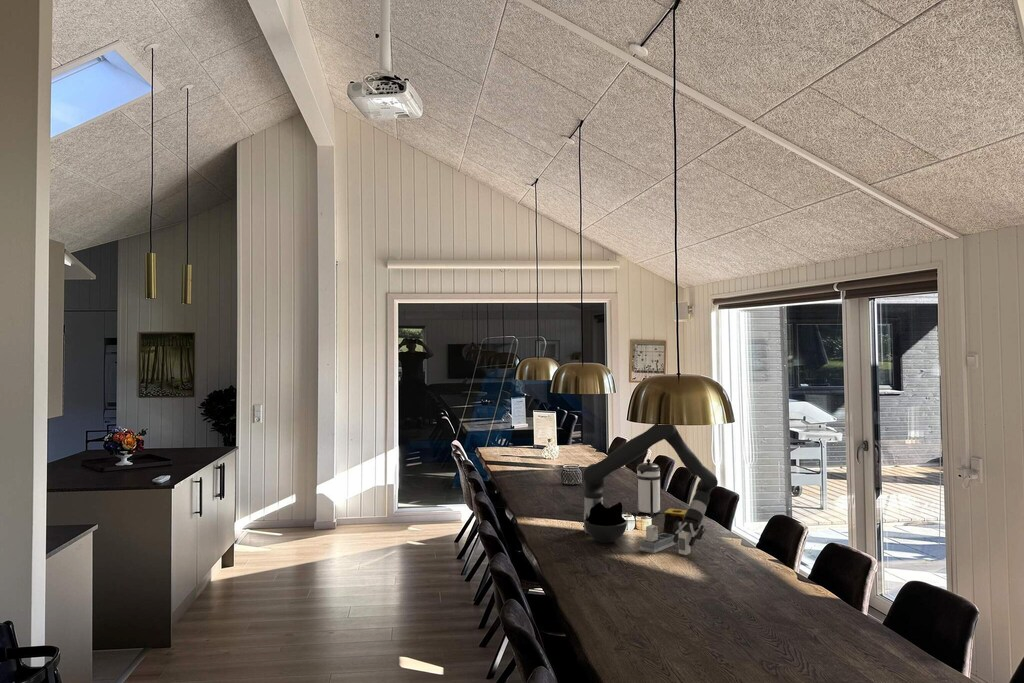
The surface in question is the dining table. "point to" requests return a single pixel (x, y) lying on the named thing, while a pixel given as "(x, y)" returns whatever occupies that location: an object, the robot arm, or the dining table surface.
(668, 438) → the robot arm
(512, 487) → the dining table surface
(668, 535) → the gray compartment block tray
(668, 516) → the candle
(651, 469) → the coffee press
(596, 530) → the coal bowl
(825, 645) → the dining table surface
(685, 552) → the tall off-white block
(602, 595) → the dining table surface
